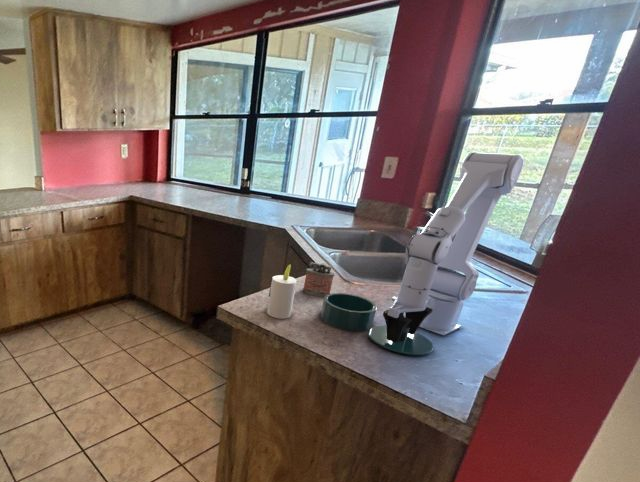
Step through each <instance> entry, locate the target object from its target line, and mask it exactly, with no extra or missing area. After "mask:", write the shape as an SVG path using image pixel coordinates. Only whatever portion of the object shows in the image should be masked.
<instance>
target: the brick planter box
mask: <svg viewBox="0 0 640 482" xmlns="http://www.w3.org/2000/svg"><path fill="white" fill-rule="evenodd" d="M309 267H310V268H306V270H305V271H306V274H305V278H304V279H305V280H304V284H303V288H302V293H304V294H307V295H312V296H316V297H323V298H324V297H325V296H326V295H328V294H331V290H332V285H333V280H334V277H335V274H336V273H335V272H333V271H332V267H333V266H332V265H326V263H324V262H323V263H319V262H313V261H311V262H310V263H309Z"/></svg>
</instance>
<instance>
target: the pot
mask: <svg viewBox="0 0 640 482" xmlns="http://www.w3.org/2000/svg"><path fill="white" fill-rule="evenodd" d="M377 309H378V306H377V305H376V303H375V302H374V301H372V300H370V299H369V298H366V297H363V296H360V295H356V294H352V293H343V292H336V293H335V292H333V293H332V292H331V293H330V294H328V295H326V296H325V297H323V302H322V306H321V311H320V318H321V320H322V321H324V323H326V324H328V325H329V326H332V327H335V328H336V329H337V328H338V329H340V330H344V331H352V332H364V331H369V330H370V329H371V328H373V324H374V321H375V317H376V314H377Z"/></svg>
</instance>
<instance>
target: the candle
mask: <svg viewBox="0 0 640 482" xmlns="http://www.w3.org/2000/svg"><path fill="white" fill-rule="evenodd" d="M291 267H292V265H291V263H290V264H288V265H287V267H286V268H285V271H284V273H283V274H277V275H274V276H272V277H271V284H270V287H269V292H268V305H267V310H266V313H267V315H269V316H270V317H271V318H275V319H281V320H285V319H289V318H290V317H291V315H292V310H293V304H294V300H295V299H294V298H295V293H296V287H297V282H298V280H297V279H296V278H295V277H293V276H290V272H291Z"/></svg>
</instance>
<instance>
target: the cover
mask: <svg viewBox="0 0 640 482" xmlns="http://www.w3.org/2000/svg"><path fill="white" fill-rule="evenodd" d="M409 329H410V327H409V326H408V325H407V326H406V327H405V328H404V330H403V332H402V334H401V336H400V338H399V340H398V341H397V342H396V343H395V342H392V341H390V340H388V339H387V327H386V325H377V326H372V327H371V328H370V329H368V330H367V331H368V332H367V336H368V337H369V339H370V340H371V341H373V343H375V344H376V345H378V346H380V347H382V348H383V349H387V350H389V351H391V352H395V353H399V354H403V355H409V356H425V355H428V354H430V353H432V352H433V350H434V344H433V343H432V342H431V340H429V339H428V338H426V337H425V336H423V335H422V334H420V333H417V332H415V333H414V334H413V335H411V334H409Z"/></svg>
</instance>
